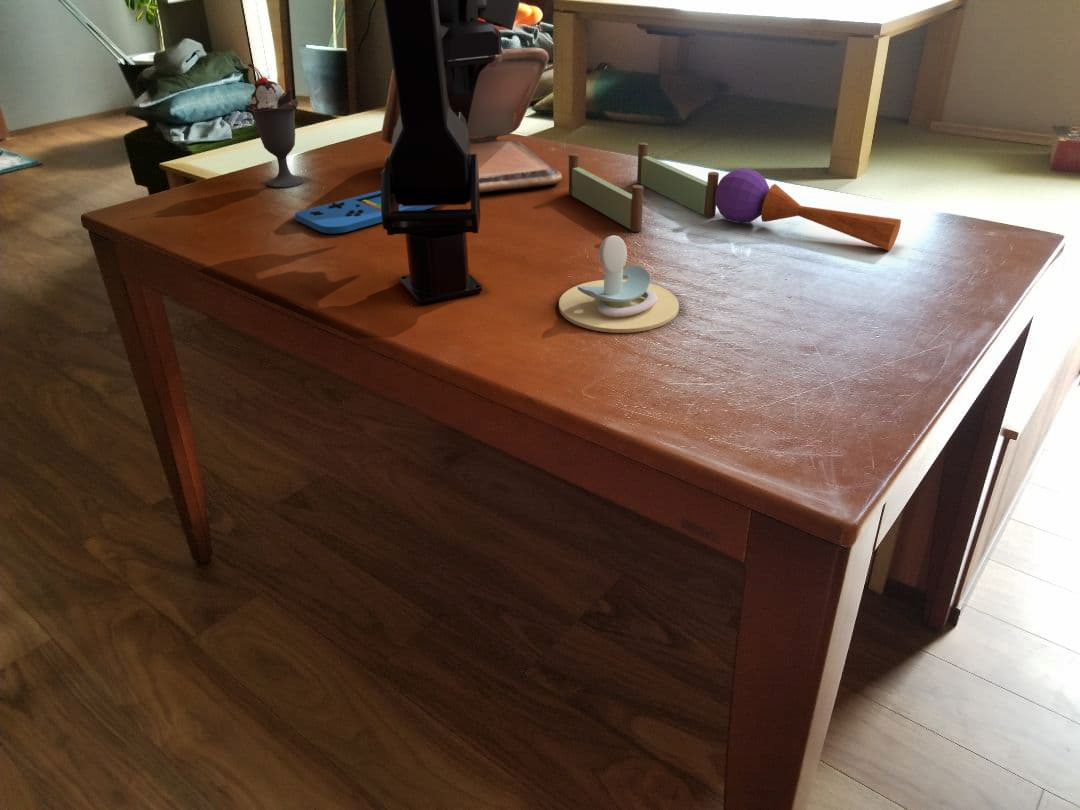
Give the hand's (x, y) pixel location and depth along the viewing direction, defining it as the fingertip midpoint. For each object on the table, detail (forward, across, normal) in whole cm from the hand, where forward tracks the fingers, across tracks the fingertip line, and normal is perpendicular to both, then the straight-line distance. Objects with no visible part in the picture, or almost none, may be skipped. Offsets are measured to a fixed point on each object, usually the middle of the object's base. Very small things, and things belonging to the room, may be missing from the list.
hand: (446, 116), depth 94 cm
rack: (+12, -5, -22) cm, 26 cm away
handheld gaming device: (+12, +8, +8) cm, 16 cm away
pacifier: (+12, -30, -5) cm, 32 cm away
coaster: (+12, -29, -5) cm, 32 cm away
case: (+12, +17, -9) cm, 23 cm away
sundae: (+12, +26, +14) cm, 32 cm away
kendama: (+12, -22, -32) cm, 41 cm away
